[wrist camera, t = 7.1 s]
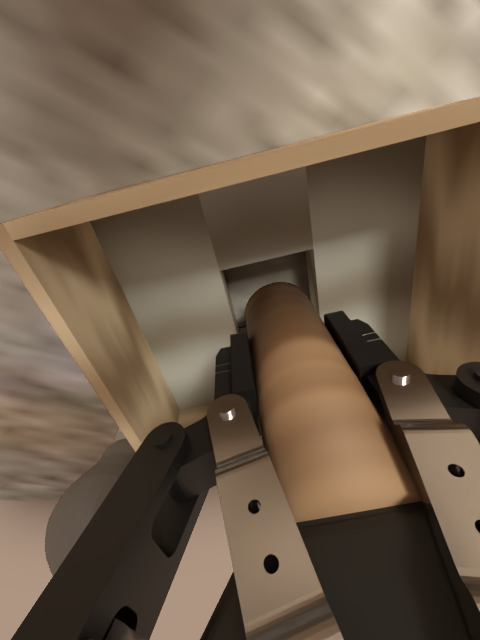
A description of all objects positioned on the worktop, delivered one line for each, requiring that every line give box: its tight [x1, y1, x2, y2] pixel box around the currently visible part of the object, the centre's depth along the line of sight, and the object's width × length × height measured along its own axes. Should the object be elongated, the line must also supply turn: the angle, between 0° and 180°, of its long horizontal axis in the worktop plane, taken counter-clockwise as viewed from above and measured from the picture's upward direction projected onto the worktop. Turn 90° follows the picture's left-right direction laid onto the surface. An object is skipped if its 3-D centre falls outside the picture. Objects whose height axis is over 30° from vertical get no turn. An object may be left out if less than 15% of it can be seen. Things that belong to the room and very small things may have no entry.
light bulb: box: [45, 428, 136, 576], centre depth 18 cm, size 6×6×10 cm
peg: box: [245, 282, 422, 523], centre depth 10 cm, size 3×3×10 cm
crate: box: [0, 97, 480, 452], centre depth 14 cm, size 14×16×7 cm
